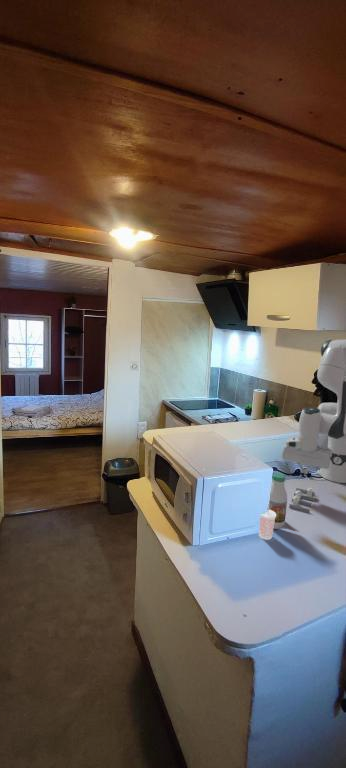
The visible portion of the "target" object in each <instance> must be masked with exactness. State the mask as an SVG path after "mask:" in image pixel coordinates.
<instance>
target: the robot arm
mask: <svg viewBox="0 0 346 768" xmlns="http://www.w3.org/2000/svg"><path fill="white" fill-rule="evenodd" d="M320 354H321V359H320V361H319V364H318V365H319V366H318V369H317V373H316V374H317V375H316V377H317V380H318V382H319V383H320V384H321V385H322V386H323V387H324V388H327V389H328V390H330V391H332V392H333V393H334V394H336V397H337V400H336V401H337V402H322V403H320V404H319V405H318V407H315V406H306V407H304V408H302V410H301V413H300V415H299V421H298V434H297V436H294V437H288V438H287V439H286V441H285V442H286V443H285V446H284V447H283V450H282V453H281V459H282V460H283V461H287V462H290V463H291V462H293V463H295V464H296V463H297V464H298V467H299V469H300V473H301V474H305V475H308V473H309V470H310V469H311V467H315V468H316V467H317V468H319V469H320V468H321V469H320V470H319V469H317V471H316V472H315V473H316V475H319V476H321V477H322V478H323V479H326V480H327V481H330V482H333V483H334V482H335V483H339V484H346V338H345V339H329V340H325V341H324V343H322V344H321V349H320ZM319 435H323V436H327V442H328V443H327V447H325V446H321V445H319V439H320V436H319ZM303 465H307V466H306V467H307V468H305V467H303Z"/></svg>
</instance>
